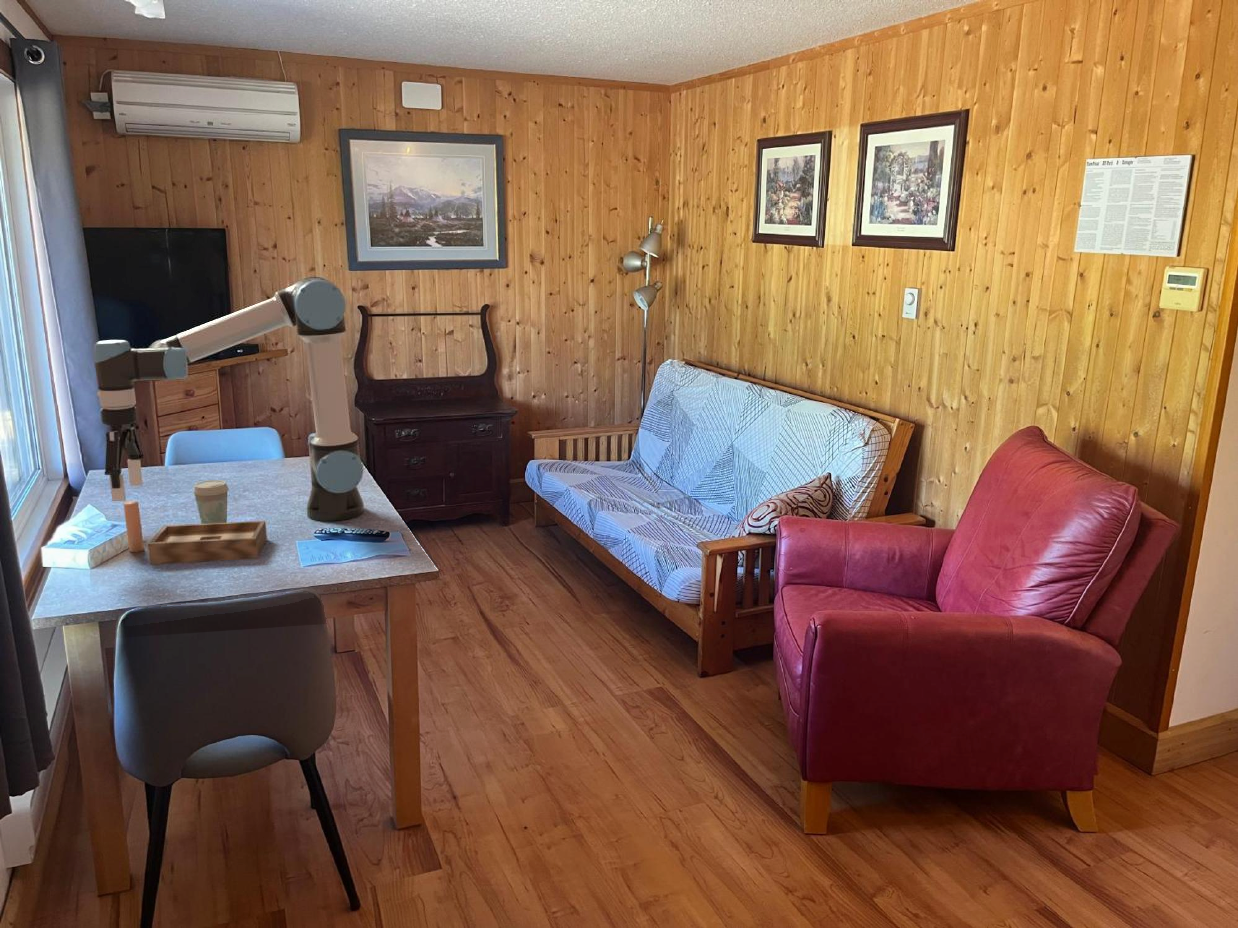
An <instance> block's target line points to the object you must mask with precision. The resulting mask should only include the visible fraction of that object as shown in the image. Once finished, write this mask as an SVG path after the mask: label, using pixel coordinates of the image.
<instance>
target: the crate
mask: <svg viewBox="0 0 1238 928" xmlns="http://www.w3.org/2000/svg"><path fill="white" fill-rule="evenodd" d="M267 534H268V533H267V525H266V520H252V521H251V520H249V521H230V522H229V521H227V523H206V524H202V523H189V524H187V523H186V524H169V525H168V524H167V525H163V526H162V527H161V528H160V529H159V530H158V532H157V533H156V534H155V535H154V536H153V537H152V538H151V540H150V541H149V542H148V543H147V550H148V557H149V564H150V565H157V564H158V565H159V564H173V563H174V564H175V563H193V562H212V561H213V562H214V561H228V560H229V561H230V560H231V561H232V560H247V559H248V560H251V559H252V560H253V559H258V557H259V556H260V554H261V553H262V550H263V548H264V546H265V544H266V542H267V540H268V537H267Z"/></svg>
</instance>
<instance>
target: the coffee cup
mask: <svg viewBox="0 0 1238 928" xmlns="http://www.w3.org/2000/svg"><path fill="white" fill-rule="evenodd" d="M193 488H194V489H193V492H192V494H193V495H194V498H195V501H196V506H197V510H198V514H199V519H200V524H206V523H227V522H228V491H229V487H228V485H227V483H226V481H224V480H219V479H214V480H213V479H211V480H205V481H200V482H198V483H196V484H194V487H193Z"/></svg>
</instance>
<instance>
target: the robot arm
mask: <svg viewBox="0 0 1238 928" xmlns="http://www.w3.org/2000/svg"><path fill="white" fill-rule="evenodd" d="M346 305H347V304H346V300H345V296H344V295H343V293H342V291H341V290H340V288H339V287H338V286H337V285H336V284H335V283H333V282H332V281H329V280H327V279H325V278H323V277H320V276H308V277H305V278H303V279H301V280H298V281H297V282H295V283H294V284H291V285H290V286H288V287H285V288H283V289H280V290H278V291H275V294H274V296H273V297H271V298H268V299H267V300H264V301H261V302H258V303H256V304H254V305H251V306H247V307H246V308H243V309H240V310H238V311H235V312H233V313H230V314H227V315H225V316H222V317H220V318H216V319H214V320H212V321H209V322H206V323H204V324H201V325H199V326H195V327H193V328H191V329H189V330H186V331H183V332H180V333H177V334H176V335H173V336H170V337H168V338H165V339H158V340H156V341H154V342H152V343H151V344H150V345H149V346H148V348H133V347H131V345H130V342H129V341H128V340H125V339H108V340H105V339H104V340H100V341H97V342H96V343H95V344H94V345H93V350H94V353H93V354H94V368H95V374H96V380H97V381H96V382H97V390H98V392H97V393H96V396H97V397H99V404H100V406H101V407H102V408H101V409H100V415H101V423H102V424H103V425H106V426H110V431H106V433H105V438H106V443H105V444H106V445H105V448H106V449H105V469H104V475H105V476H109V483H110V490H111V499H112V500H111V501H112V502H126V501H127V498H126V497H127V496H126V489H125V482H124V481H125V480H124V473H123V472H122V469H123V460H124V452H125V453H126V456H127V457H128V459H127V469H128V471H127V472H128V478H129V485H130V487H132V486H133V487H137V486H139V487H140V486H143V485H144V482H143V475H142V473H143V472H142V466H141V459H144V457H145V456H144V453H143V450H142V449H143V448H142V446H141V442H140V439H139V436H138V431H137V429H136V422H137V421H138V411H137V406H135V405H136V403H137V401H136V400H137V399H136V391H135V386H134V385H135V384H134V382H135V381H138V382H139V381H140V382H141V381H159V380H164V381H165V380H170V381H175V380H179V379H186V378H188V375H189V370H188V366H189V365H188V364H192V363H193V362H195V361H197V360H201V359H203V358H206V357H209V356H211V355H214V354H216V353H218V352H220V351H223V350H226V349H229V348H231V347H233V346H236V345H239V344H241V343H245V342H246V341H249V340H251V339H254V338H257V337H260V336H262V335H265V334H267V333H270V332H273V331H275V330H277V329H280V328H283V327H286V326H288V327H291V328H294V327H296V331H297V336H298V338H301V340H303V342H304V344H305V352H306V361H307V370H308V376H309V384H310V387H309V388H310V394H311V395H310V396H311V403H312V410H313V417H314V426H315V427H314V428H315V432H313V433H310V434H309V436H308V438H307V439H308V440H307V441H308V442H307V447H308V452H309V453H308V455H309V466H310V481H311V490H310V494H309V496H308V497H309V498H308V500H307V505H306V515H307V517H308V518H309V519H312V520H315V521H326V522H332V521H334V522H335V521H336V522H337V521H344V520H350V519H353V518H357V517H359V516H361V515H362V514H363V513H364V512H365V504H364V501H363V498H362V496H361V494H360V491H359V489H358V487H357V486H358V485H359V484H360V483H361V481H362V478H363V475H364V464H363V463H362V462H363V461H362V459H361V456H360V454H361V453H360V446H359V437H358V436H357V435H356V434H355V433H354V432H352V430H351V429H352V428H351V421H350V413H349V403H348V395H347V394H348V393H347V387H346V378H345V377H346V376H345V367H344V361H343V360H344V359H343V358H344V357H343V349H342V338H343V336H344V335H345V334H346V332H347V330H346V319H345V312H346V307H347V306H346Z"/></svg>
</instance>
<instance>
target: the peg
mask: <svg viewBox="0 0 1238 928" xmlns="http://www.w3.org/2000/svg"><path fill="white" fill-rule="evenodd" d="M123 513H124V520H125V527H126V535H127V541H128V549H129V552H130V553H138V552H140V553H141V552H142V551H144V549H145V547H144V546H145V545H144V539H143V538H144V537H143V532H142V531H143V529H142V522H141V514H140V507H139V502H138V501H135V500H131V501H125V502H124V503H123Z"/></svg>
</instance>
